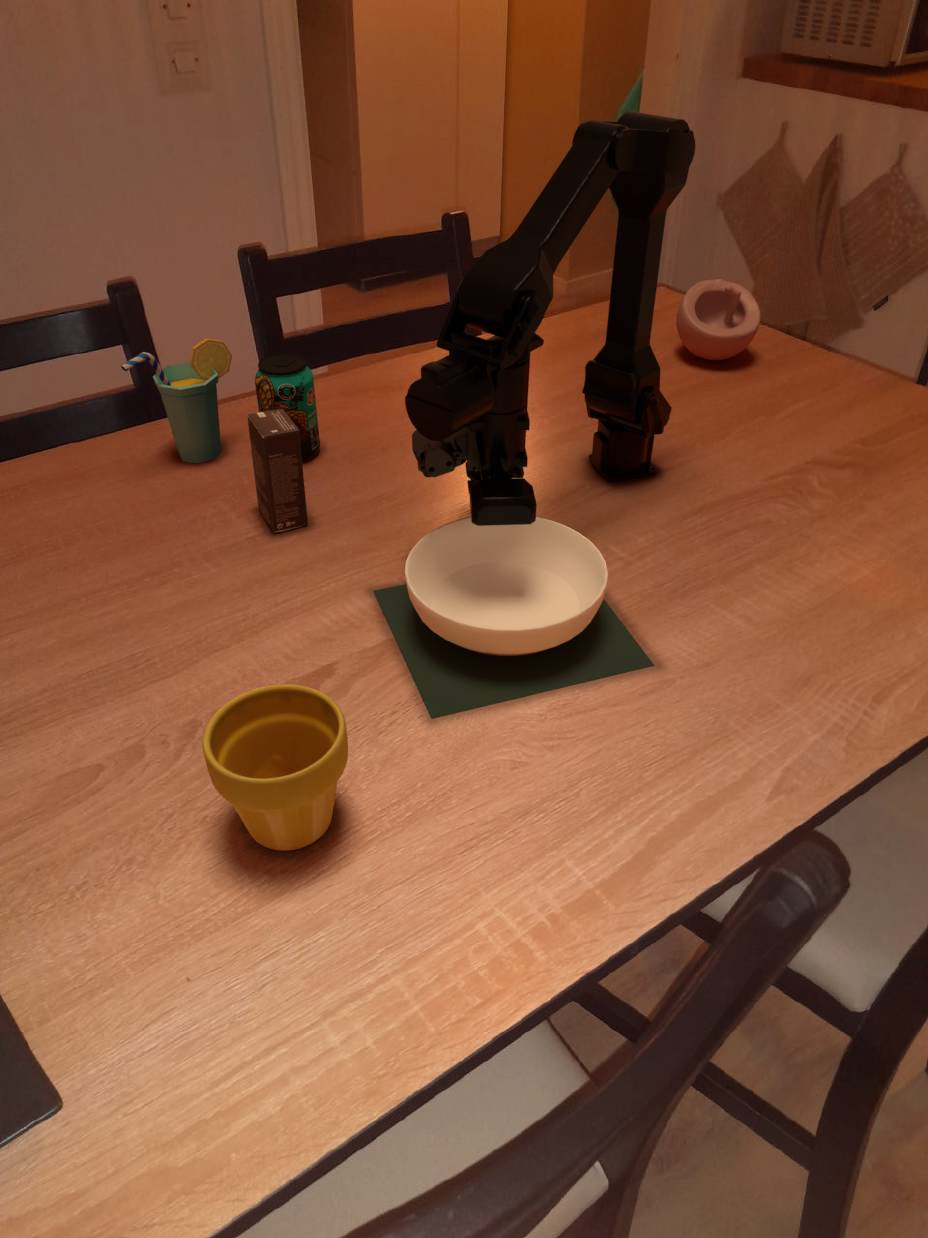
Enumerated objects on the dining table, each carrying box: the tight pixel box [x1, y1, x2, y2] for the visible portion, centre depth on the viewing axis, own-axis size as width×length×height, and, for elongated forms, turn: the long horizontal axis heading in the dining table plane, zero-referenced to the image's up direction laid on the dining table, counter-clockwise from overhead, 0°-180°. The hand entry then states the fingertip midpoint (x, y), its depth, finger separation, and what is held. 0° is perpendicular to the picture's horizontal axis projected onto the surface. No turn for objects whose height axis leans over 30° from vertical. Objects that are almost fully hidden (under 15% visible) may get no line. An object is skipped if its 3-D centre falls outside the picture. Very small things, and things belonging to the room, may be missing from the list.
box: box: [247, 409, 309, 534], centre depth 107 cm, size 6×4×12 cm
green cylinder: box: [254, 352, 321, 462], centre depth 119 cm, size 7×7×12 cm
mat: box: [372, 583, 655, 720], centre depth 95 cm, size 22×20×1 cm
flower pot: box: [202, 683, 349, 852], centre depth 73 cm, size 10×10×10 cm
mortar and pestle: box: [675, 278, 762, 361], centre depth 143 cm, size 12×12×11 cm
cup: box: [120, 337, 233, 465], centre depth 118 cm, size 14×8×15 cm, turn 139°
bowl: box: [404, 516, 609, 656], centre depth 95 cm, size 20×20×6 cm
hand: (494, 532), depth 104 cm, fingers closed
